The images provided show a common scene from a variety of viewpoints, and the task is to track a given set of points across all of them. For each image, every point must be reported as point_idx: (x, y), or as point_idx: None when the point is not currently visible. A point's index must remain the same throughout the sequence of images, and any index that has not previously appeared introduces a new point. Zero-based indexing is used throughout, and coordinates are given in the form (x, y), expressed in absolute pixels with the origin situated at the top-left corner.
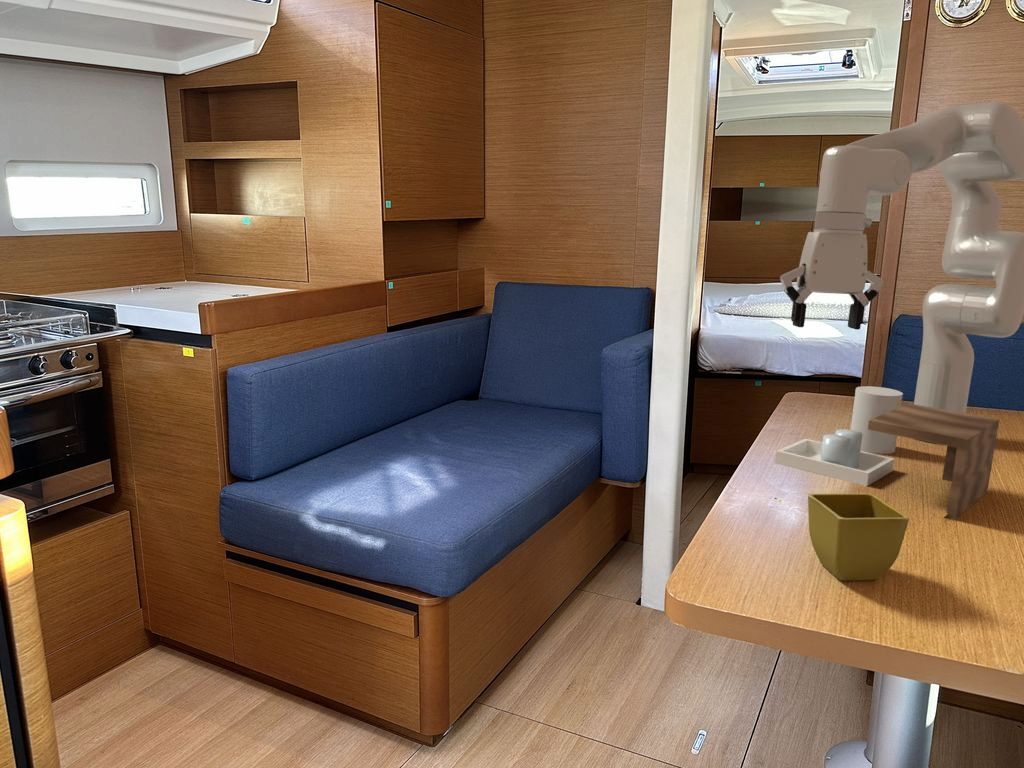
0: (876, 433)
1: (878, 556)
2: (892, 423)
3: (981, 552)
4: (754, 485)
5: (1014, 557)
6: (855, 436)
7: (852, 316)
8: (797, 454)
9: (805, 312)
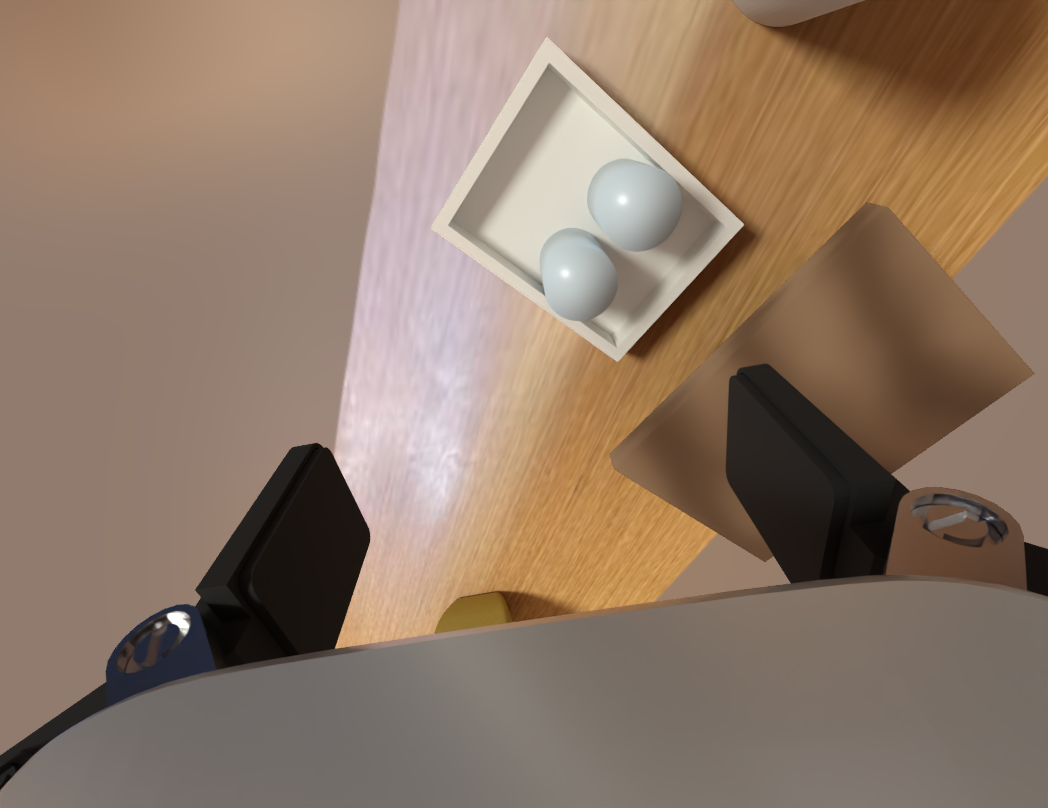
0: (807, 9)
1: None
2: (663, 484)
3: (669, 542)
4: (385, 363)
5: (704, 546)
6: (645, 249)
7: (766, 475)
8: (507, 129)
9: (342, 619)
